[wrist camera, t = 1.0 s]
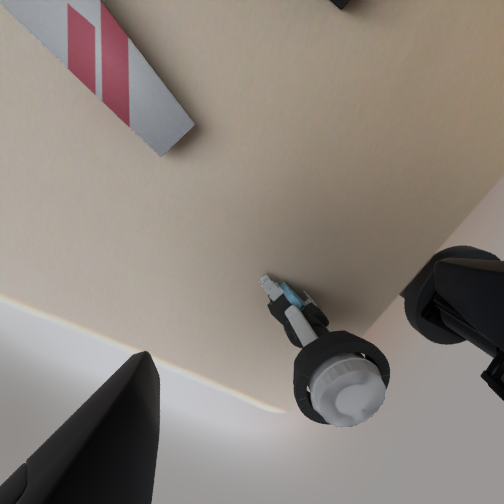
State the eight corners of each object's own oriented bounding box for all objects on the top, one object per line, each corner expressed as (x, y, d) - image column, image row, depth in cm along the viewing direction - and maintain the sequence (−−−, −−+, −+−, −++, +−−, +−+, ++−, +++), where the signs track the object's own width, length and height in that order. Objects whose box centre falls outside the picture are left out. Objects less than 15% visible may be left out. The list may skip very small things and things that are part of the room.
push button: (236, 296, 23) (261, 393, 14) (286, 250, 23) (349, 317, 13) (289, 344, 25) (342, 455, 16) (336, 303, 25) (419, 392, 15)
